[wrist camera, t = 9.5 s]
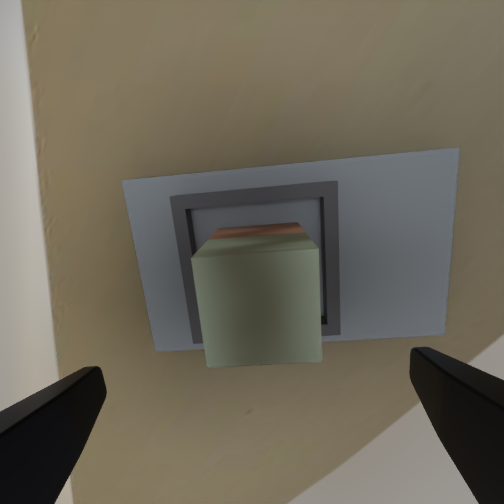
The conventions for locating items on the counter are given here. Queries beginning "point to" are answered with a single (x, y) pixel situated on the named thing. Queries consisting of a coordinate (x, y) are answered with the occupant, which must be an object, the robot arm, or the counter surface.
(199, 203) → the nest board
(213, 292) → the brick stack
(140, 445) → the counter surface
